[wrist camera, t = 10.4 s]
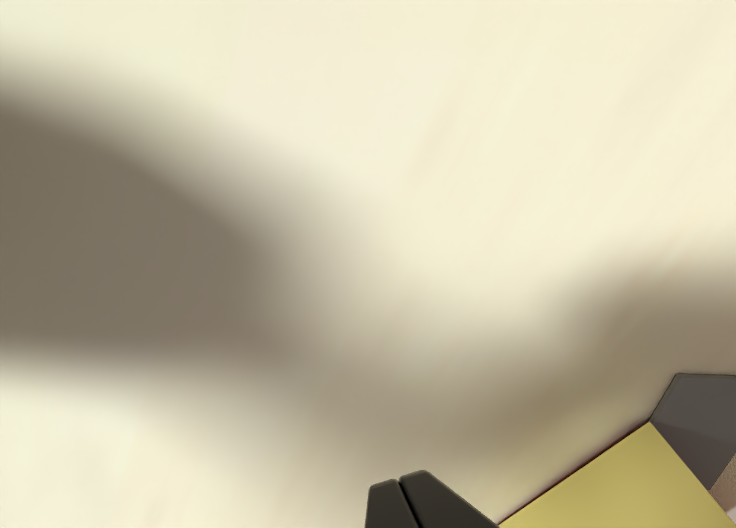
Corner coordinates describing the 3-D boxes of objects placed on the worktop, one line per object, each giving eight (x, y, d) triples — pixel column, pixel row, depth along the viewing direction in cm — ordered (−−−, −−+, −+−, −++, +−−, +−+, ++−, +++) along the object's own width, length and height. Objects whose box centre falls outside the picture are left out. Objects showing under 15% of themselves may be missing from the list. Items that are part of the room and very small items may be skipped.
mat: (607, 490, 34) (610, 494, 34) (676, 373, 30) (680, 377, 30) (705, 485, 36) (709, 490, 36) (780, 377, 33) (785, 381, 32)
